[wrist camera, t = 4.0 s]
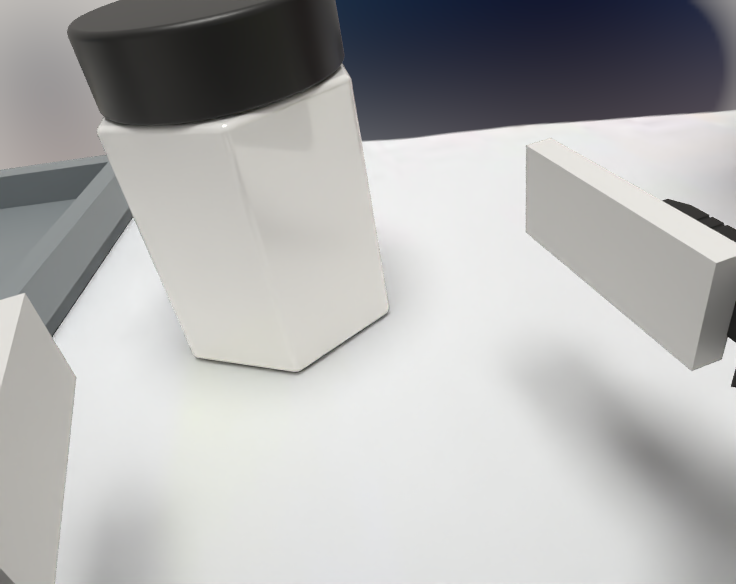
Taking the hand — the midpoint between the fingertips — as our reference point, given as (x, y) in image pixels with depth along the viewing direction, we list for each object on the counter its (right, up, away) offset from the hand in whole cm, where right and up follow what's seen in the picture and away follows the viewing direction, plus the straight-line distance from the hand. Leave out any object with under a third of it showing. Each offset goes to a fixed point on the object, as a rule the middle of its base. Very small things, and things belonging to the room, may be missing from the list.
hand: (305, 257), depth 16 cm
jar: (-2, -2, +10) cm, 10 cm away
